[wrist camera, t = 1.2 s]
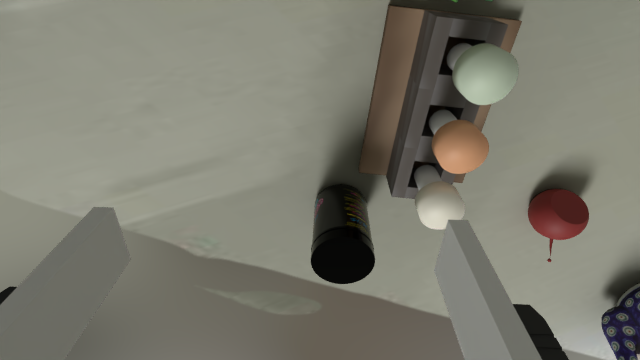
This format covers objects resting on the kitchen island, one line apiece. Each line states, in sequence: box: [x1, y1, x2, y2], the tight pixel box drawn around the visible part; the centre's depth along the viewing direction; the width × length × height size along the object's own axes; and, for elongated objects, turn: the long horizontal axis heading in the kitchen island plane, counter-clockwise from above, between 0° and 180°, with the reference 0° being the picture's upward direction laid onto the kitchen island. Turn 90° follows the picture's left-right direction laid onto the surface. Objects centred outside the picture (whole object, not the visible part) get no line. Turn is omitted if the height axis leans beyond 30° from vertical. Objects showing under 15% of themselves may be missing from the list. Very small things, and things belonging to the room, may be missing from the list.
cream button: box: [414, 165, 465, 229], centre depth 34 cm, size 4×4×6 cm
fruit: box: [528, 189, 589, 262], centre depth 43 cm, size 6×6×8 cm
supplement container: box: [311, 185, 375, 284], centre depth 42 cm, size 7×7×10 cm
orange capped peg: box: [429, 110, 489, 174], centre depth 31 cm, size 4×4×6 cm
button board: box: [359, 5, 522, 199], centre depth 36 cm, size 12×18×6 cm
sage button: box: [447, 43, 518, 105], centre depth 28 cm, size 4×4×6 cm
